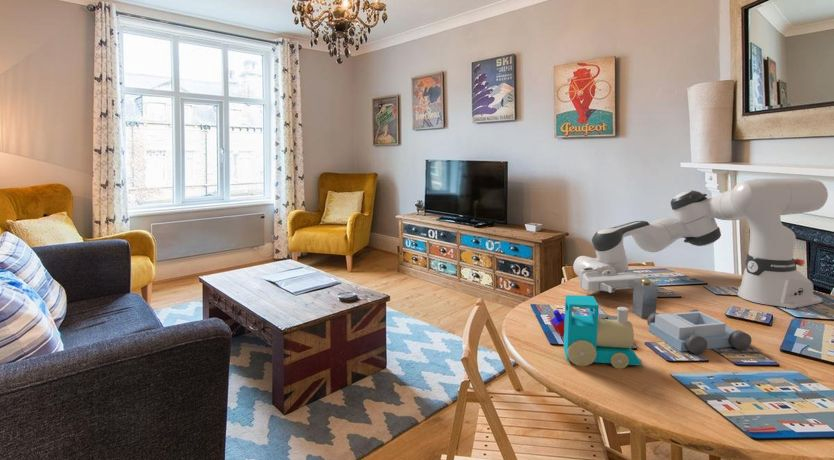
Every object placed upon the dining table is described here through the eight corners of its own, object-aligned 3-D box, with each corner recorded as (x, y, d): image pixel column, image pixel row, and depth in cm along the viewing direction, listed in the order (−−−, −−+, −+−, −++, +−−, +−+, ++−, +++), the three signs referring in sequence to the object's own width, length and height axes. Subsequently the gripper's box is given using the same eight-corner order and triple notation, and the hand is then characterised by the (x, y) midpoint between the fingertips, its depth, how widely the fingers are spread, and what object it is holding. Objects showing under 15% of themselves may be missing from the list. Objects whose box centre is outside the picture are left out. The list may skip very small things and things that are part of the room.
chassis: (702, 323, 123) (704, 305, 121) (753, 349, 107) (755, 328, 106) (644, 328, 120) (645, 309, 119) (686, 355, 105) (688, 334, 104)
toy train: (643, 370, 98) (648, 308, 96) (567, 365, 102) (569, 305, 99) (633, 354, 106) (637, 296, 103) (563, 350, 109) (565, 294, 106)
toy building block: (557, 335, 121) (546, 312, 119) (570, 327, 122) (558, 304, 120) (563, 340, 118) (552, 317, 116) (576, 332, 118) (565, 309, 116)
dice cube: (594, 337, 116) (595, 319, 115) (597, 330, 120) (598, 313, 119) (614, 341, 113) (615, 323, 113) (617, 333, 118) (618, 316, 117)
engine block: (645, 311, 132) (648, 277, 130) (655, 317, 128) (658, 281, 126) (632, 312, 132) (634, 278, 130) (641, 318, 127) (643, 282, 125)
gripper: (630, 283, 152) (656, 296, 139) (575, 287, 150) (596, 300, 136) (631, 266, 151) (657, 277, 137) (576, 269, 148) (597, 281, 135)
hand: (626, 289), depth 137 cm, fingers open, 8 cm apart
